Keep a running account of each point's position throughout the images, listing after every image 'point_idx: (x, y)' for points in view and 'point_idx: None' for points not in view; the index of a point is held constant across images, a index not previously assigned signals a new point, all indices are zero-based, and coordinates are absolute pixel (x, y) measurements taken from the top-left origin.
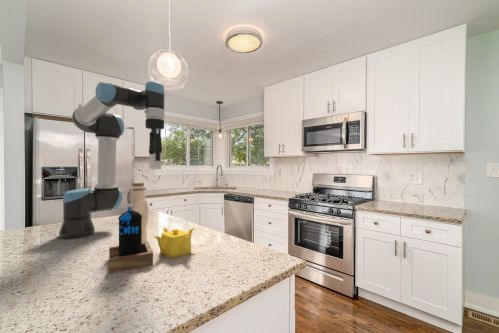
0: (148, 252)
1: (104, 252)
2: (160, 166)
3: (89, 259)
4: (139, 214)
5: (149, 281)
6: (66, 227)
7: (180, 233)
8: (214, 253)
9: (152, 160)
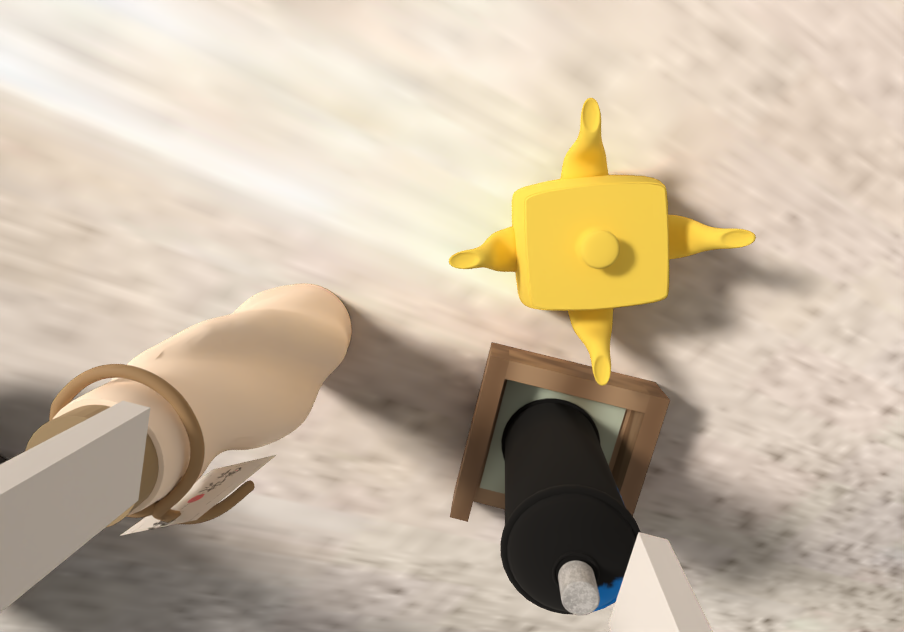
0: (650, 413)
1: (352, 484)
2: (678, 574)
3: (404, 546)
4: (611, 519)
5: (793, 448)
6: None
7: (622, 226)
8: (745, 86)
9: (38, 537)
